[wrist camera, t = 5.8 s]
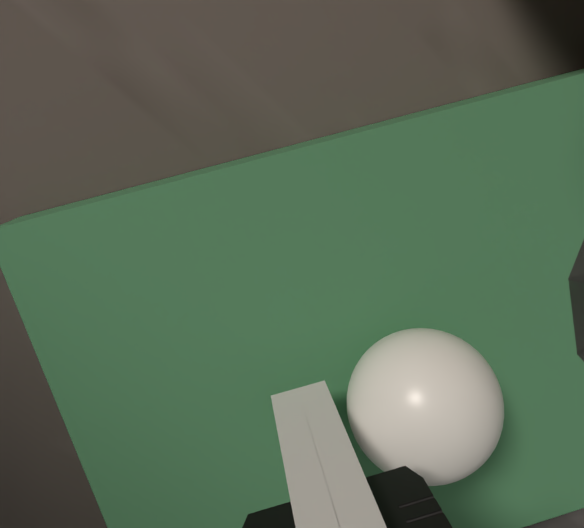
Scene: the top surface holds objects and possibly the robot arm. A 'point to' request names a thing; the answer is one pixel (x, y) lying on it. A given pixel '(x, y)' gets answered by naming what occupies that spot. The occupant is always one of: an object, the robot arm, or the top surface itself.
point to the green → (318, 304)
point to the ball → (425, 405)
